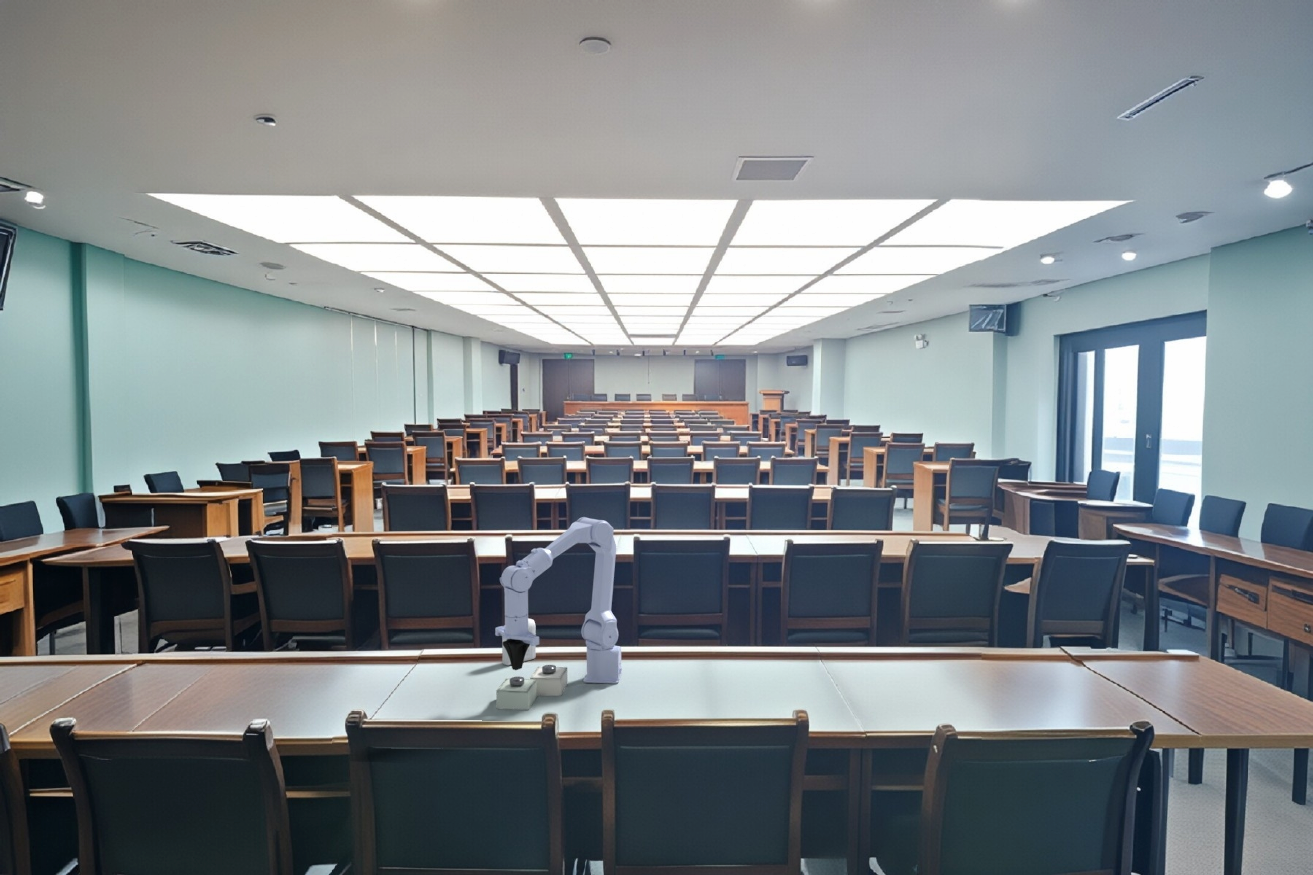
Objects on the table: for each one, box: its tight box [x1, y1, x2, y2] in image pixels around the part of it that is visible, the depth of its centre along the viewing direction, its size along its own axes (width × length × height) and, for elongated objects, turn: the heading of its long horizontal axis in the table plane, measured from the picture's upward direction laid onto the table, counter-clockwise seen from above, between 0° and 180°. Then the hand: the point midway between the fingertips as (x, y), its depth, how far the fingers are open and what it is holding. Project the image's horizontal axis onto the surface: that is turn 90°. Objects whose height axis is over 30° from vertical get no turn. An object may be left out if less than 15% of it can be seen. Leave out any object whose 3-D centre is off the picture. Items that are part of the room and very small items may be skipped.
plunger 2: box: [541, 664, 557, 674], centre depth 180 cm, size 5×5×5 cm
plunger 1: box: [509, 676, 525, 687], centre depth 172 cm, size 5×5×5 cm
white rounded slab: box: [501, 618, 537, 666], centre depth 202 cm, size 10×4×12 cm, turn 134°
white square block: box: [529, 666, 568, 697], centre depth 180 cm, size 8×8×4 cm
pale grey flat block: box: [495, 678, 538, 711], centre depth 172 cm, size 8×8×4 cm
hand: (517, 668), depth 172 cm, fingers closed
